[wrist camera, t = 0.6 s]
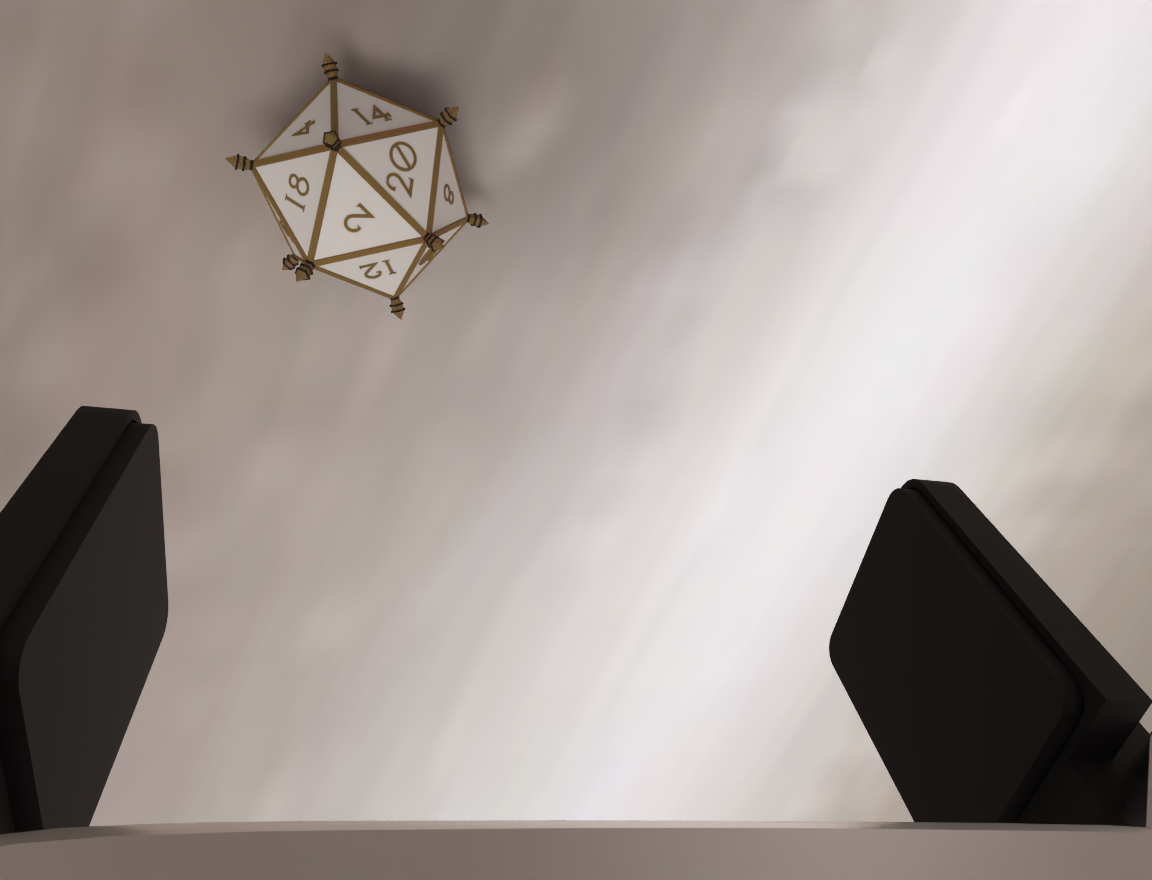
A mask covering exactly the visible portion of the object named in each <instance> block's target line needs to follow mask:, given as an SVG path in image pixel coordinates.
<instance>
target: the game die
mask: <svg viewBox="0 0 1152 880" xmlns="http://www.w3.org/2000/svg"><path fill="white" fill-rule="evenodd" d="M336 64H337V62H335V61H334V60H333V59H332V58H331V57H330V56H329V55H328V54H327V53H325V58H324V62H323V65H322V67H323V68H324V71H325V72H324V74H326V75H327V77H328V82H327V83H326V84H325V85H324V86H323V88H322V89H321V90H320V91H319V92H318V93H317V94H316V95H315V96H314V97H313V98H312V99H311V100H310V101H309V102H308V103H307V105H306V106H305V107H304V108H303V109H302V110H301V111H300V112H299V113H298V114H297V115H296V116H295V117H294V118H293V119H292V120H291V121H290V123H289V124H288V125H287V126H286V127H285V128H284V129H283V130H282V131H281V132H280V133H279V134H278V135H277V136H276V137H275V138H274V140H273V141H272V142H271V143H270V144H269V145H268V146H267V147H266V148H265V149H264V150H263V151H262V152H261V153H260V154H259V155H258V156H257V158H256V159H255V160H249V159H247V158H246V156H244V157H242V156H239V154H237V156H233V157H228V158H225V159H226V160H227V161H228V162H229V163H231V164H232V165H233V166H234V167H235V170H237V169H242V171H244V170H249V169H250V170H252V172H253V174H254V176H255V178H256V180H257V182H258V184H259V186H260V188H261V190H262V192H263V194H264V196H265V198H266V200H267V202H268V204H269V206H270V208H271V210H272V212H273V215H274V217H275V219H276V221H277V223H278V225H279V227H280V229H281V231H282V233H283V235H284V237H285V239H286V241H287V243H288V245H289V247H290V249H291V251H292V253H293V254H291V255H287V257H286V258H283V269H282V270H287V269H289V270H292V269H294V268H295V266H296V265H298V262H299V261H301V262H302V263H301V264H300V267H297V269H296V272H295V274H296V282H297V281H301V280H308V279H310V275H313V272H312V271H313V269H315V270H318V271H320V272H323V273H326V274H328V275H331V276H333V277H336V278H339V279H341V280H344V281H346V282H349V283H351V284H354V285H357V286H359V287H362V288H364V289H367V290H370V291H372V292H375V293H377V294H380V295H382V296H385V297H388V298H390V299H391V305H390V307H391V308H392V311H391V313H394V314H395V315H396V316H397V317H398V318H400V319H402V315H403V312H404V310H405V308H403V305H402V304H403V302H401V301H400V299H399V296H400V295H401V294H402V293H403V291H404V290H405V289H406V288H407V287H408V286H409V285H410V284H411V283H412V282H413V281H414V279H415V278H416V277H417V276H418V275H419V274H420V273H421V272H422V271H423V270H424V269H425V267H426V266H427V265H428V264H429V263H430V262H431V261H432V260H433V259H434V258H435V257H436V255H437V254H438V253H439V252H440V251H441V250H442V249H443V248H444V247H445V246H446V244H447V243H448V242H449V241H450V240H451V239H452V238H453V237H454V236H455V235H456V234H457V232H458V231H459V230H460V229H461V228H462V227H463V226H464V225H465V224H466V223H467V222H468V223H470V224H471V226H476V227H478V228H480V226H483V225H486V224H489V223H488V222H487V221H486V220H485V219H484V218H483V217H482V214H480V215H477V214H476V213H474V214H468V212H467V209H466V205H465V201H464V198H463V194H462V191H461V187H460V183H459V180H458V176H457V173H456V169H455V165H454V162H453V158H452V155H451V151H450V147H449V144H448V140H447V136H446V133H445V129H444V127H445V126H446V125H449V124H450V125H452V122H453V121H457V119H456V116H457V112H458V108H459V107H454V108H449V107H448V108H445V111H444V112H441V113H440V114H441V116H440V117H439V119H436V118H434V117H431V116H429V115H426V114H424V113H421V112H419V111H416V110H414V109H411V108H409V107H406V106H404V105H401V104H399V103H397V102H394V101H392V100H389V99H387V98H384V97H382V96H379V95H377V94H374V93H372V92H369V91H367V90H364V89H362V88H360V87H357V86H355V85H352V84H350V83H347V82H345V81H342V80H340V79H338V77H337V71H339V69H337V67H336Z"/></svg>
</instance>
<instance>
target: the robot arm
mask: <svg viewBox="0 0 1152 880" xmlns="http://www.w3.org/2000/svg"><path fill="white" fill-rule="evenodd" d="M167 617H168V591H167V575H166V558H165V541H164V524H163V508H162V491H161V474H160V458H159V441H158V431H157V428H156V426H155V425H154V424H142V423H141V419H140V416H139V414H138V412H137V411H136V410H124V409H113V408H102V407H90V406H81V407H80V408H79V409H78V410H77V411H76V412H75V414H74V415H73V416H72V418H71V419H70V420H69V422H68V423H67V424H66V426H65V427H64V428H63V430H62V431H61V432H60V434H59V435H58V436H57V438H56V439H55V440H54V442H53V443H52V444H51V446H50V447H49V448H48V450H47V451H46V452H45V454H44V455H43V456H42V458H41V459H40V460H39V462H38V463H37V464H36V466H35V467H34V468H33V470H32V471H31V472H30V474H29V475H28V476H27V478H26V479H25V480H24V482H23V483H22V484H21V486H20V487H19V488H18V490H17V491H16V493H15V494H14V495H13V497H12V498H11V499H10V501H9V502H8V503H7V505H6V506H5V507H4V509H3V510H2V511H1V513H0V880H1152V732H1151V733H1150V734H1149V733H1148V732H1147V731H1146V729H1145V728H1144V727H1143V726H1142V725H1141V724H1140V723H1139V721H1140V719H1141V718H1142V717H1143V715H1144V714H1145V712H1146V711H1147V709H1148V708H1149V706H1150V705H1151V703H1152V700H1151V699H1150V698H1149V696H1148V695H1147V694H1146V693H1145V692H1144V691H1143V690H1142V689H1141V688H1140V687H1139V685H1138V684H1137V683H1136V682H1135V681H1134V680H1133V679H1132V678H1131V677H1130V675H1129V674H1128V673H1127V672H1126V671H1125V670H1124V669H1123V668H1122V667H1121V666H1120V664H1119V663H1118V662H1117V661H1116V660H1115V659H1114V658H1113V657H1112V656H1111V655H1110V653H1109V652H1108V651H1107V650H1106V649H1105V648H1104V647H1103V646H1102V645H1101V643H1100V642H1099V641H1098V640H1097V639H1096V638H1095V637H1094V636H1093V635H1092V634H1091V632H1090V631H1089V630H1088V629H1087V628H1086V627H1085V626H1084V625H1083V624H1082V623H1081V621H1080V620H1079V619H1078V618H1077V617H1076V616H1075V615H1074V614H1073V613H1072V611H1071V610H1070V609H1069V608H1068V607H1067V606H1066V605H1065V604H1064V603H1063V602H1062V600H1061V599H1060V598H1059V597H1058V596H1057V595H1056V594H1055V593H1054V592H1053V591H1052V589H1051V588H1050V587H1049V586H1048V585H1047V584H1046V583H1045V582H1044V581H1043V579H1042V578H1041V577H1040V576H1039V575H1038V574H1037V573H1036V572H1035V571H1034V570H1033V568H1032V567H1031V566H1030V565H1029V564H1028V563H1027V562H1026V561H1025V560H1024V559H1023V557H1022V556H1021V555H1020V554H1019V553H1018V552H1017V551H1016V550H1015V549H1014V547H1013V546H1012V545H1011V544H1010V543H1009V542H1008V541H1007V540H1006V539H1005V538H1004V536H1003V535H1002V534H1001V533H1000V532H999V531H998V530H997V529H996V528H995V526H994V525H993V524H992V523H991V522H990V521H989V520H988V519H987V518H986V517H985V515H984V514H983V513H982V512H981V511H980V510H979V509H978V508H977V507H976V506H975V504H974V503H973V502H972V501H971V500H970V499H969V498H968V497H967V496H966V494H965V493H964V492H963V491H962V490H961V489H960V488H959V487H958V486H957V485H955V484H954V483H950V482H941V481H929V480H918V479H912V480H909V481H907V482H906V483H905V484H904V485H903V486H902V487H901V488H898V489H895V490H894V491H893V492H892V493H891V494H890V496H889V498H888V500H887V502H886V505H885V507H884V510H883V512H882V514H881V517H880V519H879V522H878V524H877V526H876V529H875V531H874V534H873V536H872V538H871V541H870V543H869V546H868V548H867V550H866V553H865V555H864V558H863V560H862V563H861V565H860V567H859V570H858V572H857V575H856V577H855V579H854V582H853V584H852V587H851V589H850V591H849V594H848V596H847V599H846V601H845V604H844V606H843V608H842V611H841V613H840V616H839V618H838V620H837V623H836V625H835V628H834V630H833V632H832V635H831V638H830V644H829V653H830V658H831V662H832V664H833V666H834V668H835V670H836V672H837V674H838V676H839V678H840V680H841V682H842V684H843V686H844V688H845V689H846V691H847V693H848V695H849V697H850V699H851V701H852V703H853V705H854V707H855V709H856V711H857V712H858V714H859V716H860V718H861V720H862V722H863V724H864V726H865V728H866V730H867V732H868V734H869V736H870V737H871V739H872V741H873V743H874V745H875V747H876V749H877V751H878V753H879V755H880V757H881V759H882V760H883V762H884V764H885V766H886V768H887V770H888V772H889V774H890V776H891V778H892V780H893V782H894V783H895V785H896V787H897V789H898V791H899V793H900V795H901V797H902V799H903V801H904V803H905V805H906V807H907V808H908V810H909V812H910V814H911V816H912V818H913V820H914V822H830V821H566V820H549V821H279V822H204V823H166V824H136V825H114V826H91V827H89V825H90V822H91V820H92V817H93V814H94V812H95V809H96V807H97V804H98V802H99V799H100V797H101V794H102V791H103V789H104V786H105V784H106V781H107V779H108V776H109V774H110V771H111V768H112V766H113V763H114V761H115V758H116V756H117V753H118V751H119V748H120V745H121V743H122V740H123V738H124V735H125V733H126V730H127V728H128V725H129V722H130V720H131V717H132V715H133V712H134V710H135V707H136V705H137V702H138V699H139V697H140V694H141V692H142V689H143V687H144V684H145V682H146V679H147V676H148V674H149V671H150V669H151V666H152V664H153V661H154V659H155V656H156V653H157V651H158V648H159V646H160V643H161V641H162V638H163V635H164V632H165V628H166V623H167Z"/></svg>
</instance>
